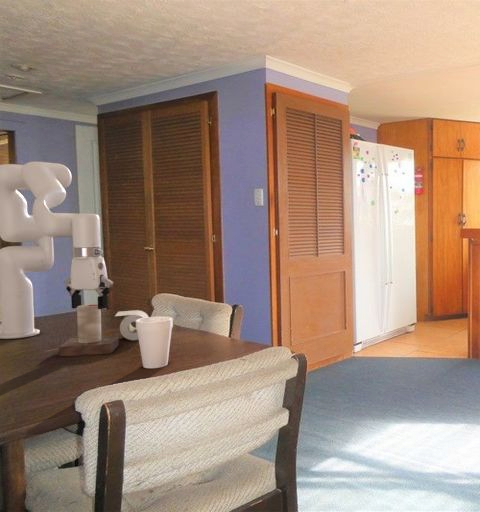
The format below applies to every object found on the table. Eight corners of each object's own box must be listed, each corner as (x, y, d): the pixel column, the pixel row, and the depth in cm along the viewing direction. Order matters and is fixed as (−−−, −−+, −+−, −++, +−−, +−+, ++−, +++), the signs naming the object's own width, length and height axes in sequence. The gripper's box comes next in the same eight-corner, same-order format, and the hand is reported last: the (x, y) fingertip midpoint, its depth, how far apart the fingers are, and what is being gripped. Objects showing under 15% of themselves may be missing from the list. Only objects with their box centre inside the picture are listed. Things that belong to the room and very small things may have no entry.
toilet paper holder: (118, 310, 187) (164, 308, 192) (119, 334, 188) (164, 332, 193) (114, 316, 176) (162, 313, 181) (114, 342, 176) (163, 339, 181)
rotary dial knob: (75, 343, 161) (74, 307, 160) (81, 339, 167) (80, 303, 166) (98, 342, 163) (97, 306, 162) (103, 338, 169) (102, 303, 168)
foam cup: (144, 361, 152) (143, 316, 152) (177, 360, 153) (176, 316, 152) (131, 370, 143) (130, 322, 142) (166, 369, 144) (165, 322, 143)
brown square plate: (58, 356, 157) (58, 346, 157) (70, 347, 169) (70, 337, 169) (110, 353, 161) (110, 343, 161) (118, 344, 173) (118, 335, 172)
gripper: (119, 252, 165) (121, 307, 165) (74, 252, 169) (76, 305, 170) (101, 254, 157) (103, 310, 158) (54, 254, 161) (56, 309, 162)
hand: (89, 308), depth 164 cm, fingers open, 9 cm apart
